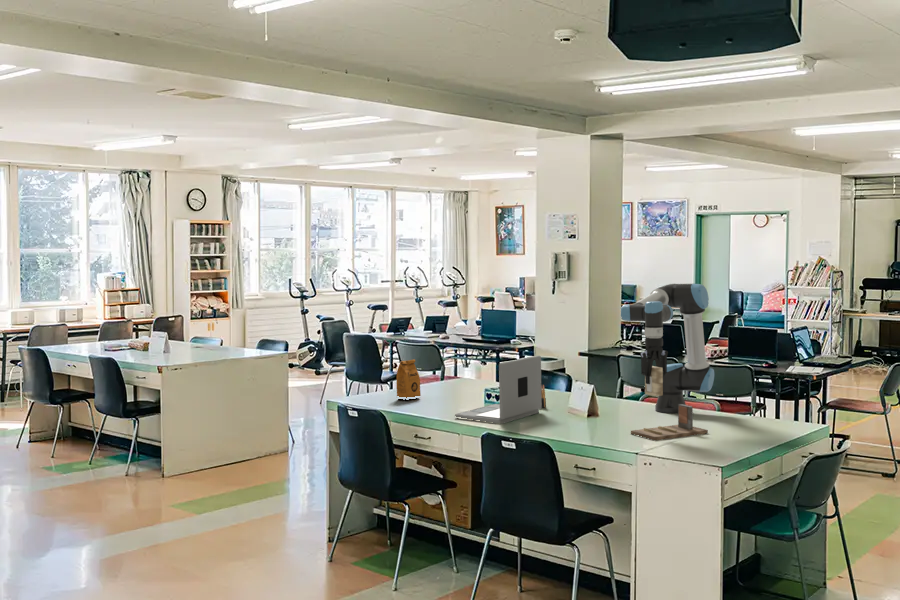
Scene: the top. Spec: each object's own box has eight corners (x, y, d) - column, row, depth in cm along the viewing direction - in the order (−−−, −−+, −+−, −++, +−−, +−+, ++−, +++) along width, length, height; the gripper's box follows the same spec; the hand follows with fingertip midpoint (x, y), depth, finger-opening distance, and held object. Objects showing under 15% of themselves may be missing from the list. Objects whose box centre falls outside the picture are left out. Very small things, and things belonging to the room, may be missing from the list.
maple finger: (653, 393, 392) (653, 365, 391) (663, 395, 386) (663, 367, 385) (645, 393, 390) (644, 366, 389) (655, 396, 384) (655, 368, 383)
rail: (682, 427, 403) (682, 401, 402) (707, 433, 388) (707, 407, 388) (630, 434, 390) (630, 407, 389) (654, 440, 375) (654, 413, 375)
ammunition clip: (546, 407, 460) (546, 384, 460) (543, 408, 459) (543, 384, 458) (530, 405, 468) (530, 382, 467) (528, 405, 467) (527, 383, 466)
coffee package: (423, 399, 494) (422, 359, 493) (406, 402, 485) (405, 361, 484) (411, 397, 501) (410, 358, 500) (394, 400, 492) (393, 360, 491)
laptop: (495, 408, 462) (494, 352, 461) (542, 413, 445) (541, 355, 444) (454, 419, 434) (453, 360, 432) (502, 425, 417) (501, 363, 415)
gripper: (643, 338, 379) (643, 393, 381) (675, 336, 387) (675, 390, 388) (632, 337, 386) (632, 391, 387) (664, 335, 394) (664, 388, 395)
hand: (654, 390), depth 388 cm, fingers closed on maple finger, 4 cm apart
